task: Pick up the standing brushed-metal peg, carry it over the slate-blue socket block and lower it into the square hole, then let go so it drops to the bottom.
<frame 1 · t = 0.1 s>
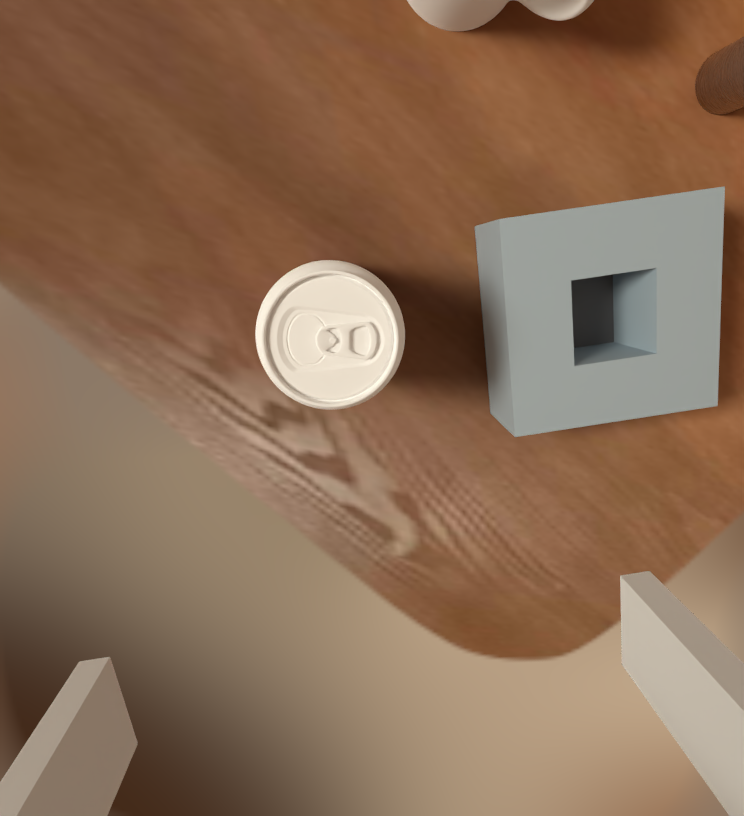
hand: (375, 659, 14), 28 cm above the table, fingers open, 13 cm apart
peg: (723, 82, 36), on the table
socket block: (574, 310, 40), on the table
beverage can: (333, 318, 39), on the table
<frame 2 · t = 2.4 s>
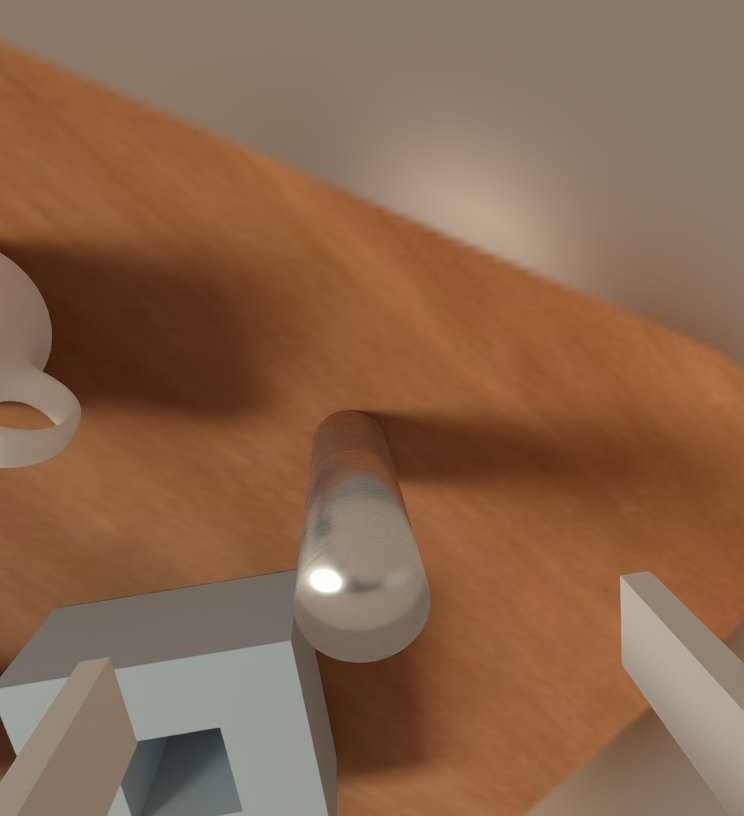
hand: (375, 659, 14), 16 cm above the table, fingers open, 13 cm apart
peg: (349, 445, 29), on the table
socket block: (205, 687, 32), on the table
mug: (8, 343, 27), on the table
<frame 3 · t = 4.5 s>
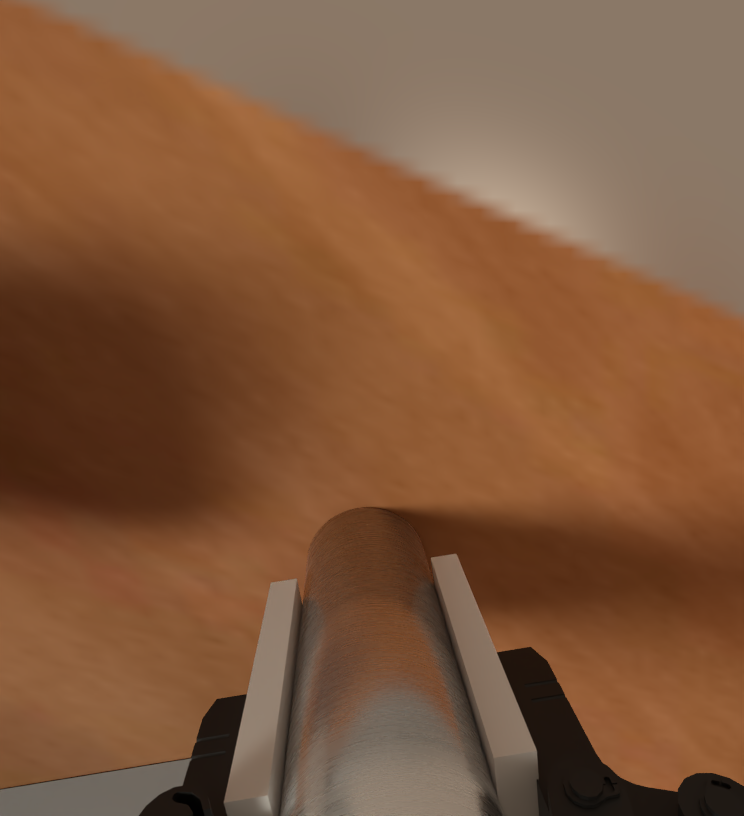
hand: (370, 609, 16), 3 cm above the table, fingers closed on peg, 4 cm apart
peg: (366, 561, 18), on the table, touching gripper
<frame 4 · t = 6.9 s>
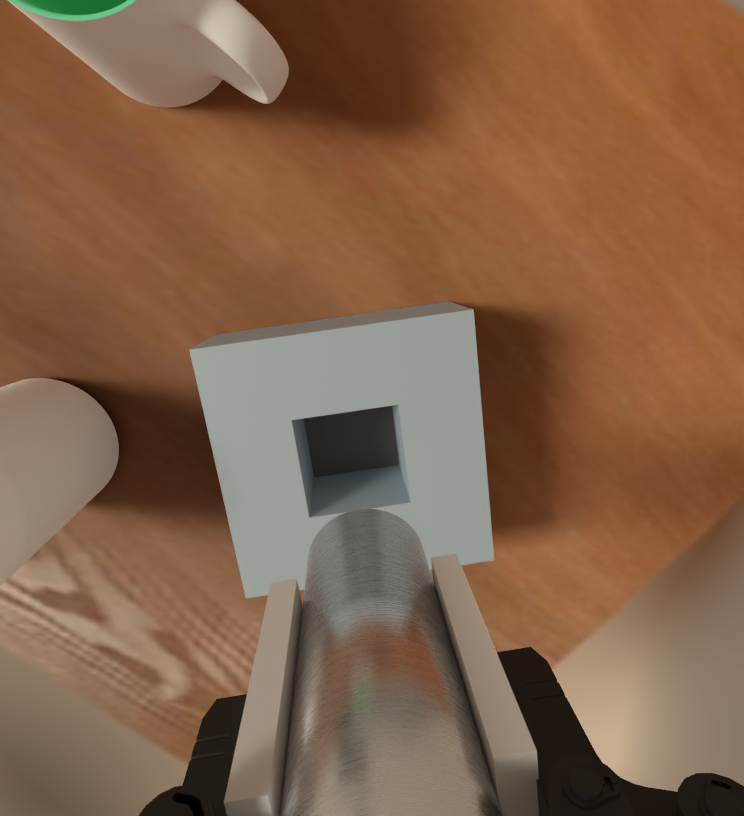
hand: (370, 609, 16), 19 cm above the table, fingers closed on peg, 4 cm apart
peg: (366, 562, 18), point 16 cm above the table, touching gripper
socket block: (350, 428, 34), on the table
mug: (195, 44, 28), on the table
beverage can: (57, 439, 33), on the table
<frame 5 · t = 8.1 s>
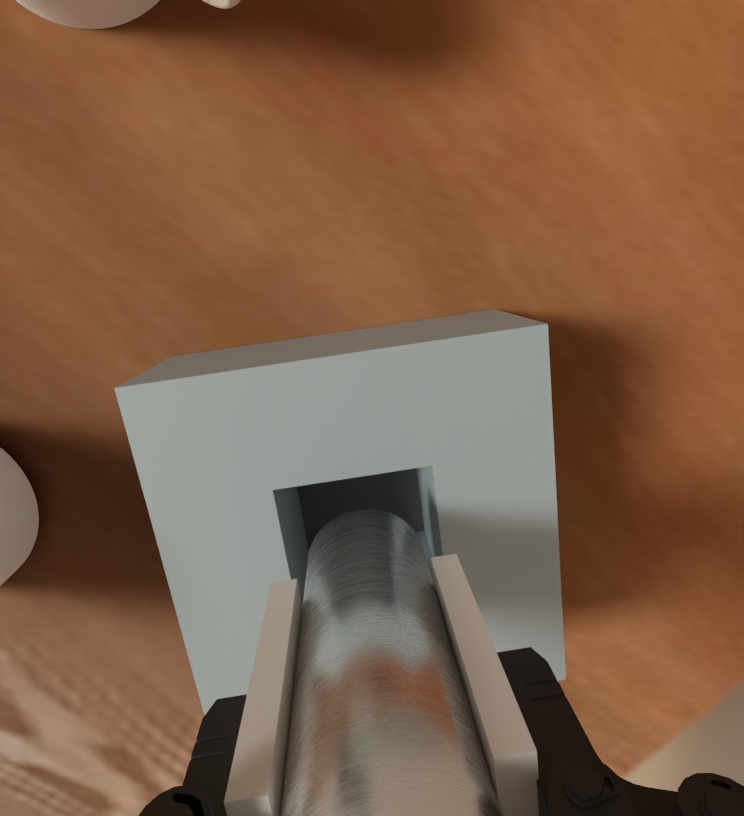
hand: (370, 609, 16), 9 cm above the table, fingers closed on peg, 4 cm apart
peg: (366, 562, 18), point 7 cm above the table, touching gripper
socket block: (358, 482, 25), on the table
when the fingers open (7 cm above the table, at t = 9.1 s): peg drops 3 cm, resting on socket block.
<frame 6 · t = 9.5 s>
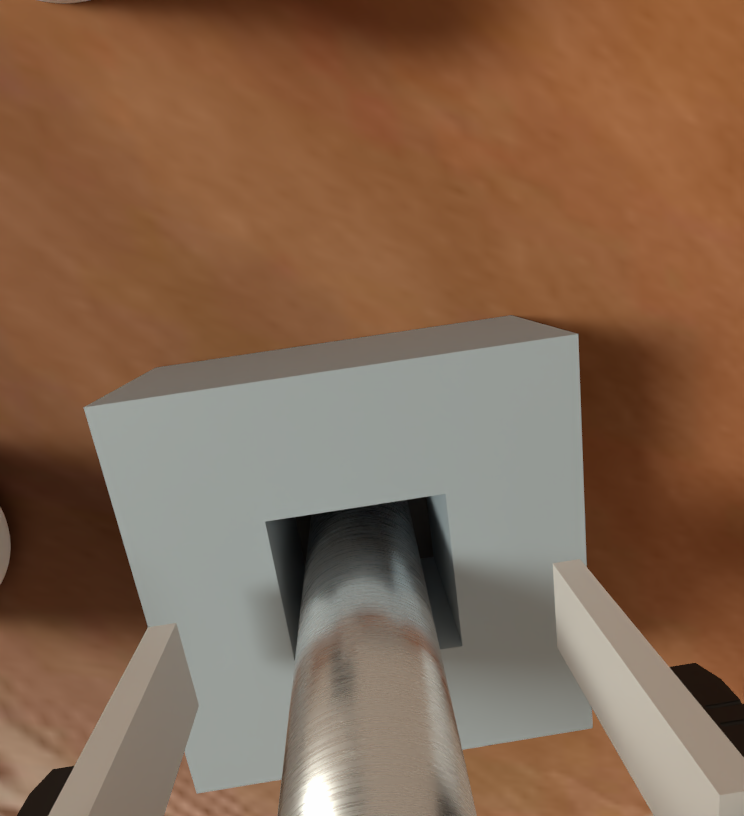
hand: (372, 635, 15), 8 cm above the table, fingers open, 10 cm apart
peg: (360, 511, 22), point 1 cm above the table, tilted 5°, touching socket block
socket block: (360, 504, 23), on the table
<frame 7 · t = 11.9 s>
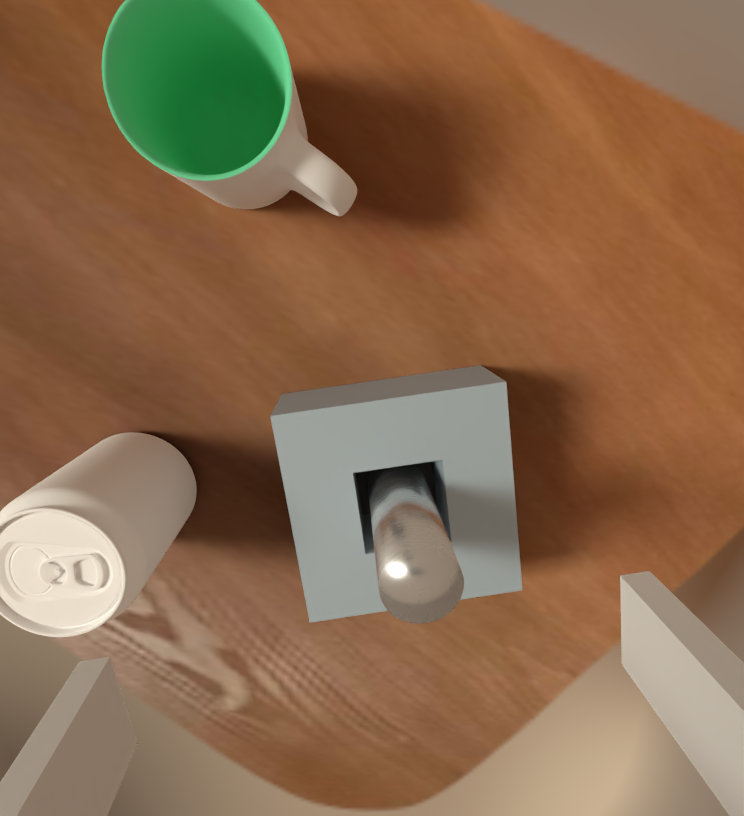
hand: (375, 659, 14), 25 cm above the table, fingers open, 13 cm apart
peg: (394, 475, 38), resting on socket block
socket block: (394, 473, 39), on the table
mug: (271, 158, 34), on the table
beverage can: (142, 482, 38), on the table
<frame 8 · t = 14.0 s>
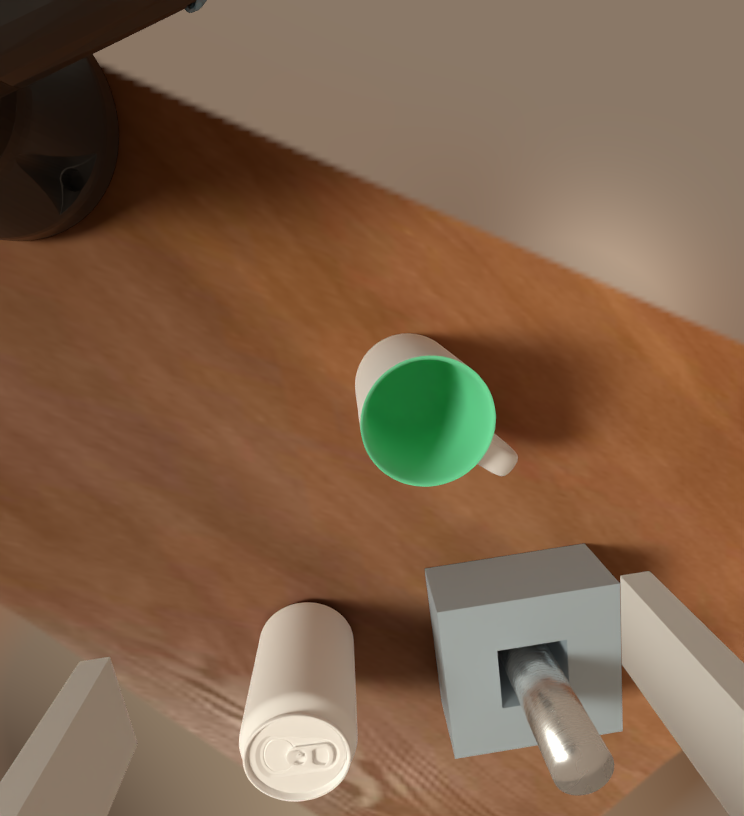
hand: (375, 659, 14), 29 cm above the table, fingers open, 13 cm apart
peg: (511, 628, 47), resting on socket block
socket block: (510, 625, 48), on the table
mug: (427, 396, 42), on the table
beverage can: (307, 636, 47), on the table
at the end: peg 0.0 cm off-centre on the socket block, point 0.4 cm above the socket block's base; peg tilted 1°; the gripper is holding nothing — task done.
